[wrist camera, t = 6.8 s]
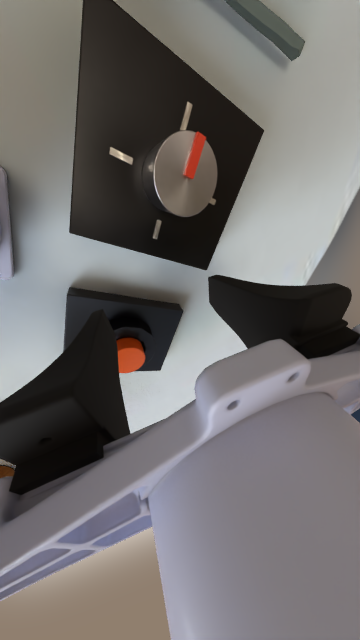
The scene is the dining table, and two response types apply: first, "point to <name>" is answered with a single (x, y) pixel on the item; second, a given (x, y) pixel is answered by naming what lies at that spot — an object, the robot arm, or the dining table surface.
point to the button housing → (126, 321)
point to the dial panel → (147, 139)
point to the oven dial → (180, 174)
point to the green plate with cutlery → (269, 26)
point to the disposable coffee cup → (6, 471)
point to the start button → (130, 354)
